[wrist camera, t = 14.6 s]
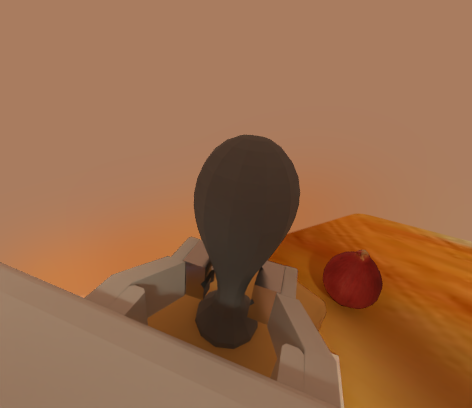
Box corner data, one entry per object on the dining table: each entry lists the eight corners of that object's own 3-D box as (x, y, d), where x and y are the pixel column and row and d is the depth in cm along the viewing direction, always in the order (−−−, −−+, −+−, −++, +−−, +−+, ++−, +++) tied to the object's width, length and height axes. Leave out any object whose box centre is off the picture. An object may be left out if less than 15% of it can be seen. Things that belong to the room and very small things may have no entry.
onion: (326, 276, 30) (346, 227, 26) (372, 303, 26) (402, 252, 23) (307, 300, 26) (327, 247, 22) (357, 336, 22) (391, 280, 19)
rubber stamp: (245, 284, 17) (278, 122, 11) (312, 344, 13) (405, 149, 8) (101, 383, 10) (16, 113, 5) (155, 553, 7) (63, 255, 1)
